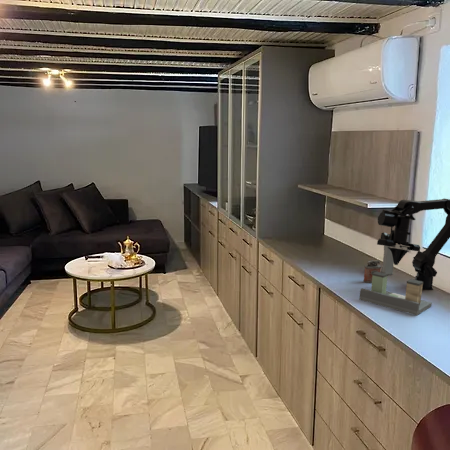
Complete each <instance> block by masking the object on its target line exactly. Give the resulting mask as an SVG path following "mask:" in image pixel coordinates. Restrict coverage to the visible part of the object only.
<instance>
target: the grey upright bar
mask: <svg viewBox="0 0 450 450" xmlns="http://www.w3.org/2000/svg"><path fill="white" fill-rule="evenodd" d="M393 229H394V227H390V233H389V234H391V232H392V230H393ZM388 247H390V246H384V245H383V258H382V265H381V271H380V272H382V273H386V274H388V276H389V275H390V276H391V275H394V274H393V273H394V261H393V256H392V252H391V251H390V249H388Z"/></svg>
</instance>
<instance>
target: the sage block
mask: <svg viewBox="0 0 450 450" xmlns="http://www.w3.org/2000/svg"><path fill="white" fill-rule="evenodd" d="M372 275H373V276H372V283H371V289H370V290H371V291H375V292H379V293H383V294H386V291H387V287H388V286H387V284H388V276H389V275H388V274H386V273H382V272H381V271H380V272H374V273H372Z"/></svg>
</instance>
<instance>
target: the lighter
mask: <svg viewBox="0 0 450 450" xmlns="http://www.w3.org/2000/svg"><path fill="white" fill-rule="evenodd" d="M380 264H381V261H380V260H373V259H371V260H370V261H369V260H368V261H367V265H364V275H363V281H362V283H364V284H372V276H373V275H372V273H374V272H381V270H382V265H380Z"/></svg>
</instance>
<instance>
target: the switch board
mask: <svg viewBox="0 0 450 450" xmlns="http://www.w3.org/2000/svg"><path fill="white" fill-rule="evenodd" d="M405 296H406V295H404V294H400V293H395V292H391V291H387V290H386V294H383V293H379V292H375V291H371V289H368V288H367V289H366V288H360V290H359V298H358V299H359V301H364V302H367V303H370V304H373V305H377V306H381V307H385V308H388V309H392V310H396V311H400V312H403V313H406V314H410V315H414V316H418V315H420V314H422V313H423V312H425V311H427V310H428V309H429V308H432V305H433V302H431V301H427V300H423V299H421V303H418V302H414V301H410V300H406V299H405Z"/></svg>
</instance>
